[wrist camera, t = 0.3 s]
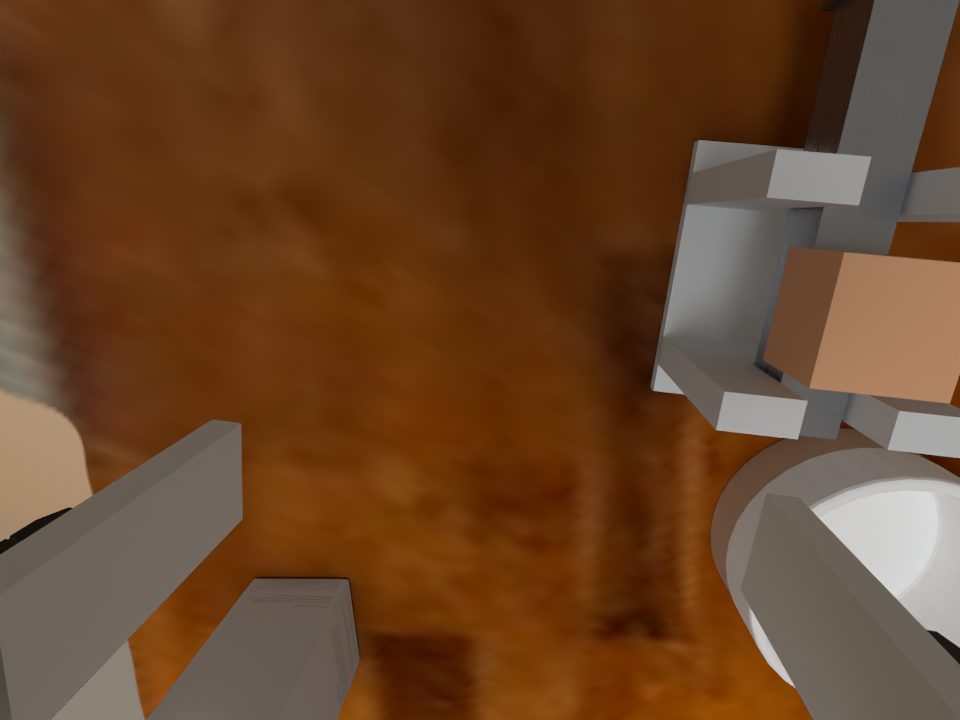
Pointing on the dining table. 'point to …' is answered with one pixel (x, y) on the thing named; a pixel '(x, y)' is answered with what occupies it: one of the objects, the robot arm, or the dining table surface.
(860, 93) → the shaft
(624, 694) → the dining table surface
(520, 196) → the dining table surface
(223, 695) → the supplement box
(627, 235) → the dining table surface
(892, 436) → the bracket
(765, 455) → the bowl
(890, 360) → the block
